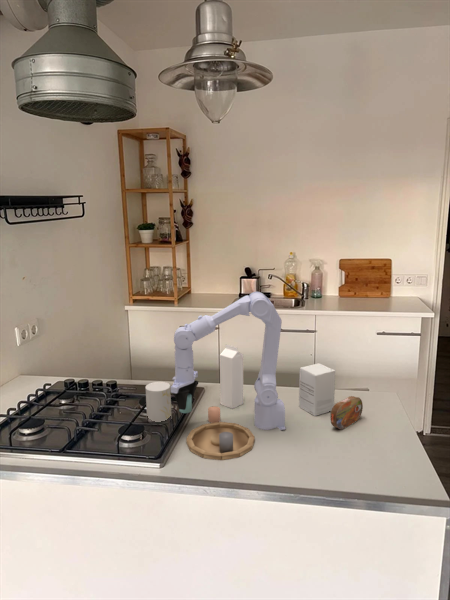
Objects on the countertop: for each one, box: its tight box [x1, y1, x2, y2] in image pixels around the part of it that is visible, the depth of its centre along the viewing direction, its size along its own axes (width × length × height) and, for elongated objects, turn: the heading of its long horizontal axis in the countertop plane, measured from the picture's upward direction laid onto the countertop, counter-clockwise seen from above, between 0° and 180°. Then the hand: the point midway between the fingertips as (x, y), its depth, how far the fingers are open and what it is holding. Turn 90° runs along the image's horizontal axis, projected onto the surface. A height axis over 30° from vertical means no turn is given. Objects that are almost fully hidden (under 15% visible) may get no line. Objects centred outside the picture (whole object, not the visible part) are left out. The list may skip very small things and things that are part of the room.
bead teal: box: [178, 393, 193, 414], centre depth 148 cm, size 4×4×5 cm
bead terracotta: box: [207, 406, 221, 423], centre depth 154 cm, size 4×4×5 cm
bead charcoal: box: [219, 432, 233, 453], centre depth 135 cm, size 4×4×5 cm
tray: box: [185, 421, 256, 461], centre depth 141 cm, size 20×20×2 cm
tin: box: [330, 395, 363, 430], centre depth 153 cm, size 15×3×8 cm, turn 131°
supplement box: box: [298, 362, 336, 417], centre depth 163 cm, size 9×9×15 cm
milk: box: [219, 344, 244, 410], centre depth 167 cm, size 6×6×22 cm
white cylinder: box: [145, 381, 172, 422], centre depth 156 cm, size 8×8×12 cm
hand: (185, 406), depth 148 cm, fingers closed on bead teal, 4 cm apart
